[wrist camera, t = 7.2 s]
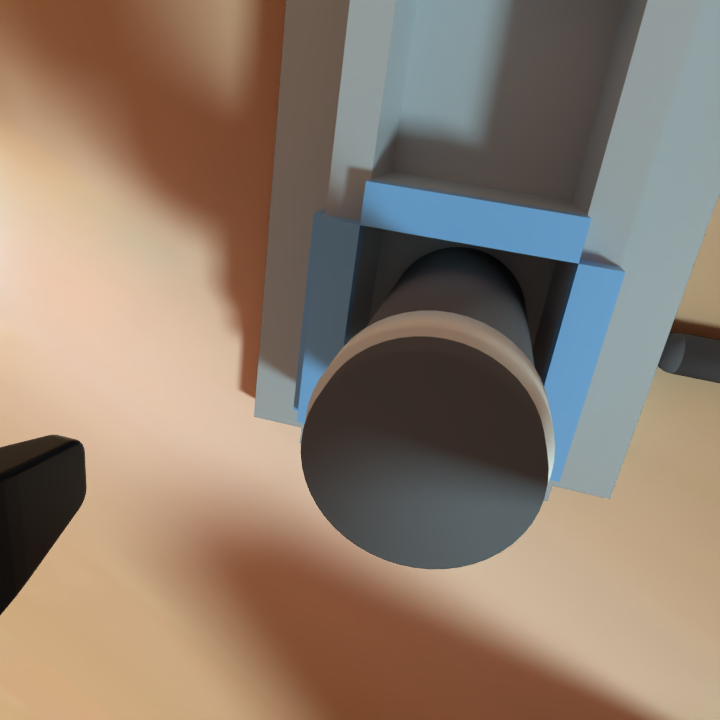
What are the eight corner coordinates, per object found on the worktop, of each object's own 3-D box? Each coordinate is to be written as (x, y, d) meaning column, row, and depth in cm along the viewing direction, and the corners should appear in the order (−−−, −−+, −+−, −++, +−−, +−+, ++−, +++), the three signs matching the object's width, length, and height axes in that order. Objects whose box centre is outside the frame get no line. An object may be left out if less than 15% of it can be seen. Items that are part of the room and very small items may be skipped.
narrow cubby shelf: (967, -555, 11) (1255, -976, 7) (604, 482, 20) (633, 576, 16) (343, -544, 13) (268, -873, 9) (264, 404, 22) (207, 470, 17)
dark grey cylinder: (547, 255, 17) (593, 374, 8) (511, 393, 18) (521, 604, 10) (398, 230, 17) (305, 315, 9) (376, 364, 19) (281, 540, 11)
